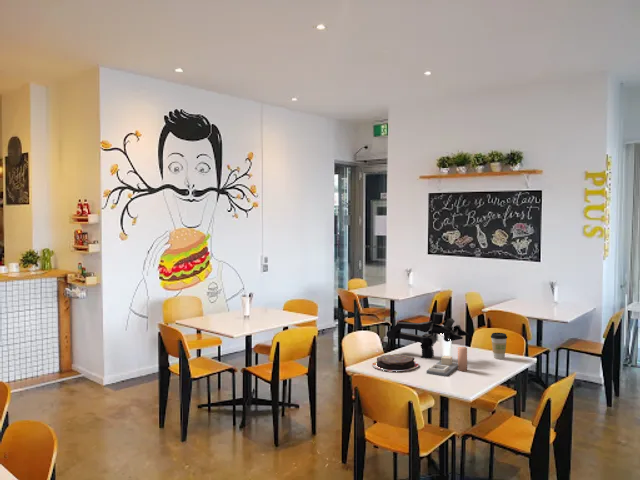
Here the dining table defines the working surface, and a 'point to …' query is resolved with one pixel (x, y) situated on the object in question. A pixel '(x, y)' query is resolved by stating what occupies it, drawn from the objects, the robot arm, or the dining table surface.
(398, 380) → the dining table surface
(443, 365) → the base plate
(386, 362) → the chocolate cake
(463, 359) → the pillar
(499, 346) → the coffee cup
